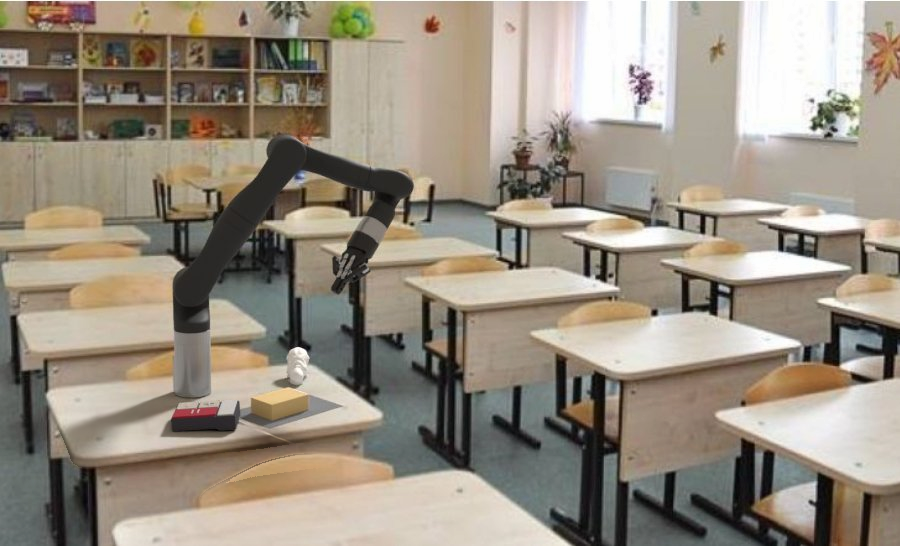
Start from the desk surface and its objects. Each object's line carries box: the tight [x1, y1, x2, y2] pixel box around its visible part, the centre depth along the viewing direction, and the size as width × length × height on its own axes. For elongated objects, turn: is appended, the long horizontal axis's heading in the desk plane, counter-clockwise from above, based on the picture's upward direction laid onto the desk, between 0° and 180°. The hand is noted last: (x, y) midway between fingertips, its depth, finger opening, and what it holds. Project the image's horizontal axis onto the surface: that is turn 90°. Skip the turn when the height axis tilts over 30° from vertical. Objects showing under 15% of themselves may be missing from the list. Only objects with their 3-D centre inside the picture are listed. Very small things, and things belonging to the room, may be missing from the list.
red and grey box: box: [170, 399, 241, 432], centre depth 256 cm, size 11×4×15 cm
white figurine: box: [286, 346, 310, 386], centre depth 291 cm, size 6×8×12 cm
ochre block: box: [250, 386, 310, 420], centre depth 265 cm, size 8×4×12 cm
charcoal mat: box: [239, 394, 343, 429], centre depth 267 cm, size 16×24×1 cm, turn 139°
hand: (334, 292), depth 275 cm, fingers closed
